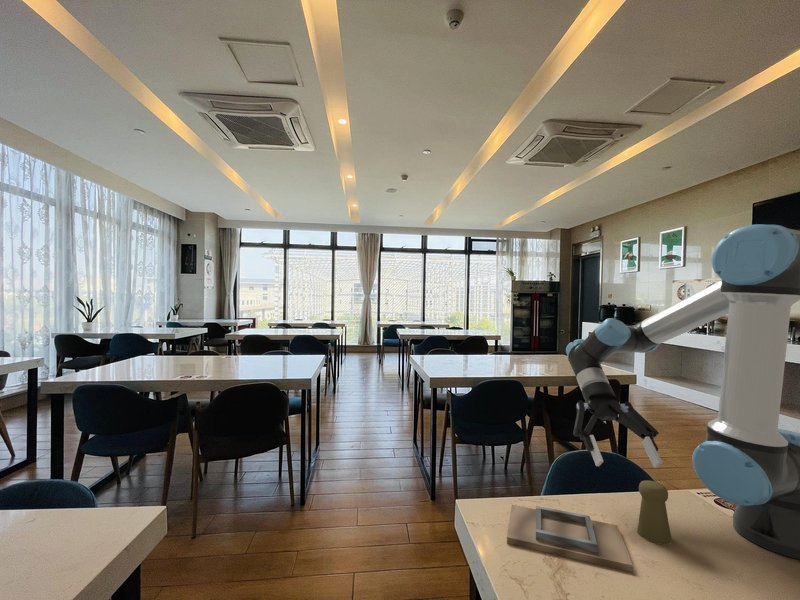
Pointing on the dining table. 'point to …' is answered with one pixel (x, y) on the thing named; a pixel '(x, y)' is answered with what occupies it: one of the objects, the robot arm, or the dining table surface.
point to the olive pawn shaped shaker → (654, 513)
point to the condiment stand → (568, 536)
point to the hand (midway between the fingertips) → (629, 464)
